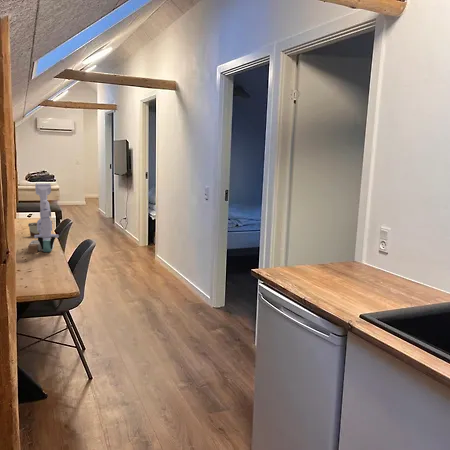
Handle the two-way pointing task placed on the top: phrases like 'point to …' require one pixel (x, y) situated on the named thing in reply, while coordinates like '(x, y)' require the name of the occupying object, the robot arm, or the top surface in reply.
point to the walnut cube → (33, 248)
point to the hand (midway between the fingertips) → (47, 248)
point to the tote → (39, 245)
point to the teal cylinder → (46, 245)
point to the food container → (33, 229)
